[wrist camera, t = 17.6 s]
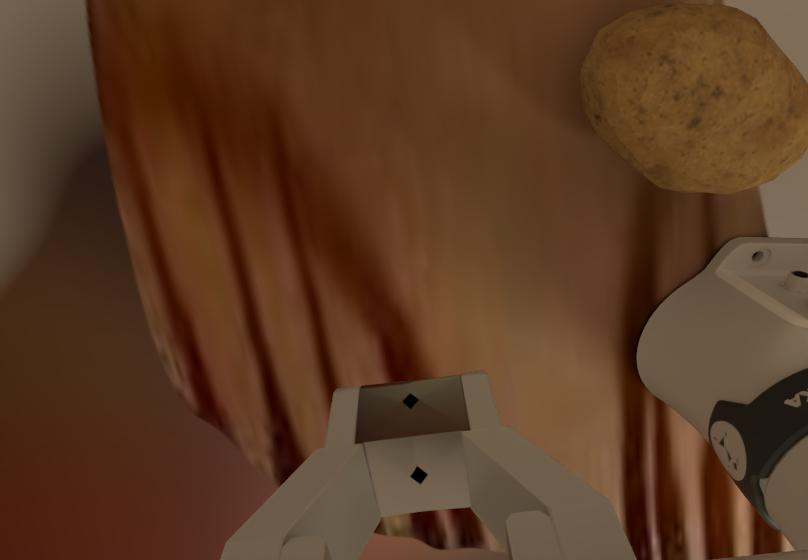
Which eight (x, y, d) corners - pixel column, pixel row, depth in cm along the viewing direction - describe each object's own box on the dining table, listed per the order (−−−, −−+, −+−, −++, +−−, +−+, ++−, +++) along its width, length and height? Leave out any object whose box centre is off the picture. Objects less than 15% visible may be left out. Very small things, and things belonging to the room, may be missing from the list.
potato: (613, -45, 30) (682, -64, 23) (787, 70, 33) (894, 85, 26) (523, 110, 34) (558, 135, 27) (686, 200, 37) (756, 243, 30)
